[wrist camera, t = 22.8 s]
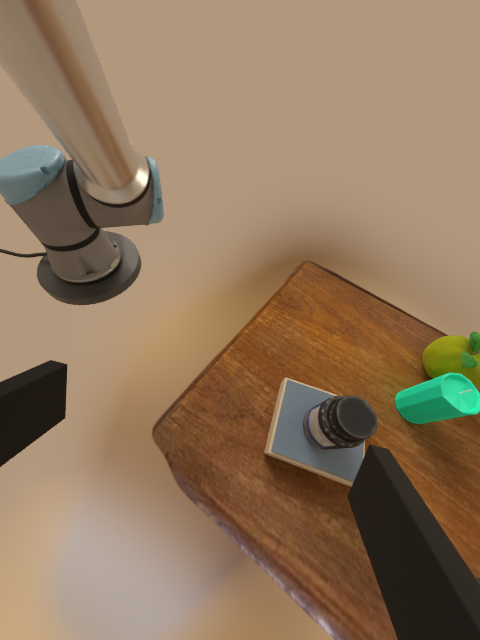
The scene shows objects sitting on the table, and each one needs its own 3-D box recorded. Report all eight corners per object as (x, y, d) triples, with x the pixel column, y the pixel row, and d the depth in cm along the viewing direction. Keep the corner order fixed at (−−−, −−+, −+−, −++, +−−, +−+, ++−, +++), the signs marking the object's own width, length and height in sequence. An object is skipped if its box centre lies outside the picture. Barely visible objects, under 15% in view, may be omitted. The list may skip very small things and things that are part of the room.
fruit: (402, 367, 46) (443, 347, 38) (423, 341, 50) (465, 317, 41) (445, 404, 43) (501, 391, 35) (465, 374, 47) (520, 355, 38)
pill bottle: (340, 411, 37) (380, 394, 28) (342, 454, 34) (388, 451, 25) (302, 403, 37) (329, 384, 28) (300, 445, 34) (331, 440, 25)
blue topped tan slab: (263, 453, 37) (268, 452, 33) (280, 382, 43) (285, 376, 40) (351, 487, 35) (364, 490, 32) (355, 409, 41) (367, 404, 38)
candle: (394, 385, 44) (447, 363, 34) (427, 397, 44) (490, 378, 33) (394, 416, 41) (451, 402, 31) (428, 429, 41) (499, 419, 30)
